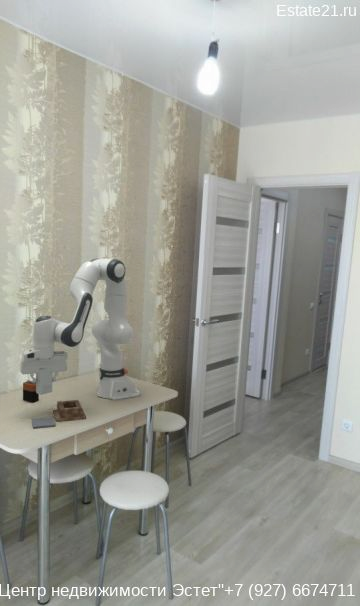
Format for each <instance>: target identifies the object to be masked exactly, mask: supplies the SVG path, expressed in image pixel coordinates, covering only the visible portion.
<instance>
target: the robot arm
mask: <svg viewBox="0 0 360 606" xmlns="http://www.w3.org/2000/svg"><path fill="white" fill-rule="evenodd" d="M99 280H101V281H105V284H106V286H105V291H104V292H105V293H104V304H103V309H104V311H105V312H106V314H107V315H108V319H109V320H108V319H99V320H96V321H94V323H93V324H92V327H91V333H92V335H93V337H94V338H95V340H96V342H97V344H98V347H99V353H100V367H99V384H98V389H97V391H96V395H97V396H98V397H100V398H104V399H109V400H122V399H129V398H134V397H135V398H136V397H140V395H141V392H140V390H139V389H137V387H136V383H135V381H134V380H133V379H132V378H131V377H129V376H128V375H127V374H128V373H129V370H127V369H126V368H124V367H123V353H122V351H121V349H120V348H119V347H118V345H126V344H129V343H131V341H132V340H133V338H134V335H135V333H134V329H133V327H132V325H130V323H129V321H128V317H127V311H126V308H127V296H128V295H127V294H128V283H127V277H126V265H125V264H124V262H123V261H121V260H119V259H116V258H115V259H114V258H108V257H107V258H106V257H105V258H104V257H103V258H94V259H91V260H90V261H85V262H83V263H82V264H81V265H80V267H79V268H78V270H77V271H76V273H75V275H74V277H73V279H72V280H71V283H70V285H69V293H70V295H71V297H72V298H73V299H74V300H75V301H76V303H77V307H76V310H75V312H74V315H73V318H72V320H71V322H70V323H68V322H64V321H61V320H57V319H55V318H53V317H52V316H51V315H42V316H39V317H37V318H36V319H35V320H34V323H33V339H34V340H33V341H34V342H33V347H32V348H29V349H26V350H24V351H23V353H22V354H23V355H22V356H23V357H22V359H21V362H20V373H21V374H22V375H29V376H30V377H31V379H32V381H33V383H36V377H34V375H36V373H39V369H42V368H47V372H52V373H54V376H52V382H57V381H56V379H57V376H58V375H59V373H60V372H66V371H67V370H68V363H67V360H68V353H67V352H66V351H64V350H63V351H62V350H61V351H58V350H57V351H55V343H59V344H63V345H65V346H67V347H71V348H74V347H77V346H78V345H80V343H81V342H82V340H83V337H84V334H85V327H86V325H87V321H88V318H89V314H90V312H91V309H92V305H93V301H94V299H93V298H94V297H93V293H94V290H95V289H96V286H97V284H98V282H99ZM117 344H118V345H117Z"/></svg>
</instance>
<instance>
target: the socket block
mask: <svg viewBox="0 0 360 606" xmlns="http://www.w3.org/2000/svg"><path fill="white" fill-rule="evenodd" d="M52 413H53V416H54V420H55V421H56V422H55V423H59V422H60V423H61V422H69V421H81V420H82V421H83V420H87V415H86V413H85V412H84V410H83V407H82V405H81V403H80V401H79V399H73V400H59V401H58V400H57V402H56V409H53V410H52Z"/></svg>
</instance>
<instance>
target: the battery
mask: <svg viewBox="0 0 360 606" xmlns="http://www.w3.org/2000/svg"><path fill="white" fill-rule="evenodd" d="M39 399H40V394H38V393H36V383H33V380H30V379H27V380H26V381H24V382H23V383H22V401H25V402H27V403H28V402H29V403H32V404H34V403H35V402H38V401H39Z"/></svg>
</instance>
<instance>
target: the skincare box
mask: <svg viewBox="0 0 360 606" xmlns="http://www.w3.org/2000/svg"><path fill="white" fill-rule="evenodd" d="M52 377H53V372H47V368H42V369H39V373H35V378H36V393H38V394H39V396H40V395H41V396H43V395H47V394H50V393H53V381H52Z"/></svg>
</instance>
